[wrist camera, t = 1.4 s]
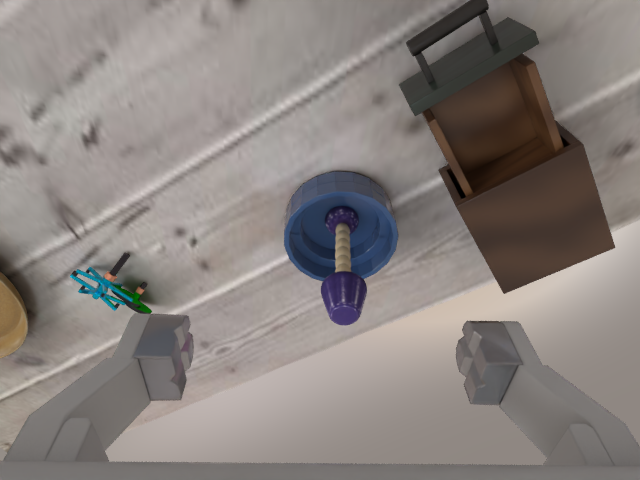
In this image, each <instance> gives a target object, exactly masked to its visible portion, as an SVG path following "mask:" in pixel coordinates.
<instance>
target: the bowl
mask: <svg viewBox="0 0 640 480" xmlns="http://www.w3.org/2000/svg"><path fill="white" fill-rule="evenodd" d="M337 206H347V207H350V208H352V209H353V210H354V211H355V212H356V213H357V215H358V217H359V223H358V226H357V228H356V230H355V231H354V232H353V233H352V234H350V235H349V236H350V254H351V258H350V261H351V268H350V269H351V272H353V273H356V274H357V275H359V276H361V277H362V278H363V279H365V278H367V277H369V276H371V275H373V274H375V273H377V272H378V271H379V270H380V269H381V268H382V267H384V266H385V265H386V264H387V263H388V262H389V260H390V258H391V257H392V255H393V253H394V252H395V250H396V245H397V240H398V231H397V226H396V221H395V217H394V214H393V210H392V206H391V202H390V200H389V198H388V196H387V195H386V193H385V192H384V190H383V189H382V188H381V187H380V186H379V185H378V184H376V183H375V182H374V181H372V180H371V179H370V178H368V177H365V176H362V175H359V174H356V173H353V172H337V171H335V172H331V173H327V174H322V175H318V176H316V177H314V178H313V179H311V180H309V181H308V182H306V183H304V184H303V185H302V186H301V187H300V188H299V189H298V190H297V191H296V192H295V194H294V195H293V196H292V197H291V200H290V202H289V205H288V207H287V210H286V220H285V230H284V246H285V249H286V251H287V254H288V256H289V259H290V260H291V261H292V262H293V264H294V265H295V266H296V267H297V268H298V269H299V270H300V271H301V272H303V273H305V274H306V275H308V276H310V277H311V278H313V279H317V280H320V281H324V279H325V278H327V277H328V276H329V275H331V274H332V273H335V270H336V266H335V261H336V258H335V252H336V249H335V244H336V240H335V237H336V236H335V235H333V234H332V233H331V232H330V231H329V230H328V229H327V227H326V224H325V217H326V214H327V213H328V212H329V211H330V210H331V209H332V208H334V207H337Z"/></svg>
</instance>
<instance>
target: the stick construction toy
mask: <svg viewBox="0 0 640 480" xmlns="http://www.w3.org/2000/svg"><path fill="white" fill-rule="evenodd" d="M129 256H130V255H129V254H127V253H124V254H123V256H122V257H121V258H120V260H119V261H118V262H117V264H116V265H115V266H114V268H113V269H112V270H111V272H107V273H106V274H105V275H104V278H103V277H101V276H100V275H99V274H98V273H97V272H96V271H95V270H94V269H93V268H92V267H89V268H88V270H87V271H86V272H83V271H81V270H79V269H77V271H74V272H73V273H72V274H71V276H70V277H71V278H73V279H74V280H76V281H77V282H79V283H80V284H82V285H83V286H82V287H81V288H80V290H79V291H78V292H79V293H84V294H92V295H93V296H92V297H93V298H94V299H98V298H99V297H100V298H101V299H102V300H103V301H104V302H105V303H106V304H107V305H109V306H110V307H111V308H112V309H113V310H114V311H115V310H116V309H117V308H118V306H119V305H120V304H122V305H125V304H126V305H127V306H128V307H129V308H131V309H132V310H134V311H136V312H138V313H140V314H151V312H152V311H151V310H150V309H149V308H148V307H147V306H146V305H144V304H143V303H142V302H140V301H139V297H140V296H141V294H142V293H143V292H144V288H145V287H146V286H147V283H145V282H143V283H142V285H141V286H139V287H138V288H137V289H136V291H135V292H134V294H132V293H131V292H129V291H127V290H125V289H122V288H121V287H122V286H123V285H122V284H120V283H114V281H115V279H116V278H117V276H116V274H117V273H118V271H119V270H120V269H121V267H122V266H123V265H124V263H125V262H126V261H127V259H128V258H129ZM89 272H91V273H92V274H93V275H94V276H93V275H90V274H88V273H89ZM78 273H79V274H81V275H83V276H85V277H87V278H90V279H92V280H94V281H96V282H98V284H97V288H94V287H93V286H91V285H89V284H88V283H86V282H85V281H83V280H81V279H80V278H78V277H76V276H77V275H78ZM85 287H87V288H88V289H90V290H88V289H85ZM108 288H110V289H111V291H112V292H113V293H114V294H115V295H116V296H117V297H119V298H120V299H122V300H123V301H122V300H119V299H117V298H115V297H113V296H110V295H108V294H106V293H107V291H108ZM109 299H110V300H112V301H115V302H117V304H116V305H115V306H114V305H113V304H112V303H111V301H110V300H109ZM118 303H120V304H118Z"/></svg>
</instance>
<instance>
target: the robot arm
mask: <svg viewBox="0 0 640 480" xmlns="http://www.w3.org/2000/svg"><path fill="white" fill-rule="evenodd" d="M189 328H190V320H189V316H187V315H168V314H139V313H135V314H134V315H133V316H132V317H131V318H130V320H129V322H128V325H127V327H126V329H125V331H124V333H123V335H122V338H121V340H120V342H119V344H118V346H117V348H116V350H115V353H114V355H113V357H112V358H106V359H105V360H103V361H102V362H101V363H99V364H98V365H97V366H95V367H94V368H93V369H91V370H90V371H88V372H87V373H86V374H84V375H83V376H82V377H80V378H79V379H78V380H76V381H75V382H74V383H72V384H71V385H70V386H68V387H67V388H66V389H64V390H63V391H62V392H60V393H59V394H57V395H56V396H55V397H53V398H52V399H51V400H49V401H48V402H47V403H45V404H44V405H43V406H41V407H40V408H39V409H37V410H36V411H35V412H33V413H32V414H30V415H29V417H28V418H27V420H26V422H25V424H24V425H23V427H22V429H21V430H20V432H19V434H18V436H17V437H16V439H15V441H14V443H13V444H12V446H11V448H10V449H9V451H8V453H7V455H6V456H5V458H4V460H3V461H0V480H640V446H639V445H638V443H637V442H636V440H635V438H634V437H633V435H632V434H631V432H630V431H629V429H628V427H627V426H626V424H625V423H624V422H622V421H621V420H620V419H619V418H617V417H616V416H615V415H613V414H612V413H611V412H609V411H608V410H606V409H605V408H604V407H603V406H601V405H600V404H598V403H597V402H596V401H594V400H593V399H592V398H590V397H589V396H588V395H586V394H585V393H584V392H582V391H581V390H580V389H578V388H577V387H576V386H574V385H573V384H572V383H570V382H569V381H568V380H566V379H565V378H564V377H562V376H561V375H560V374H558V373H557V372H555V371H554V370H553V369H552V368H550V367H549V366H545V365H542V363H541V361H540V359H539V358H538V356H537V354H536V352H535V350H534V348H533V346H532V345H531V343H530V341H529V339H528V337H527V335H526V333H525V332H524V330H523V328H522V326H521V324H520V323H519V322H511V321H501V322H499V321H467V322H466V323H465V324H464V326H463V329H462V331H463V334H464V337H462V338H461V339H460V340H459V341H458V344H457V347H456V360H457V365H458V368H459V372H461V373H462V374H463V375H464V376H465V377H466V380H465V383H464V387H465V390H466V392H467V395H468V398H469V401H470V404H480V405H500V406H499V407H500V408H501V409H502V410H503V411H504V412H505V414H506V415H507V416H508V417H509V418H510V419H511V420H512V421H513V422H514V423H515V424H516V425H517V426H518V427H519V428H520V430H521V431H522V432H523V433H524V434H525V435H526V436H527V437H528V438H529V439H530V440H531V441H532V442H533V443H534V444H535V445H536V446H537V448H538V449H539V450H540V451H541V452H542V453H543V454H544V455H545V456H546V457H547V460H546V461H545V463H544V464H543V465H464V464H462V465H461V464H451V465H450V464H327V463H326V464H325V463H323V464H322V463H210V462H207V463H206V462H205V463H204V462H109V460H108V457H107V455H106V453H105V450H106V449H107V448H108V447H109V446H110V445H111V444H112V443H113V442H114V440H116V439H117V438H118V437H119V435H120V434H121V433H122V432H123V431H124V430H125V429H126V428H127V427H128V426H129V425H130V424H131V423H132V422H133V421H134V420H135V418H136V417H137V416H138V415H139V414H140V413H141V412H142V411H143V410H144V409H145V408H146V407H147V406H148V405H149V404H150V401H158V400H181V398H182V395H183V391H184V388H185V384H186V381H187V379H186V374H185V371H186V370H187V369H189V368H190V366H191V362H192V358H193V349H194V345H193V336H192V334H191V333H189V332H188V331H189Z"/></svg>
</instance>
